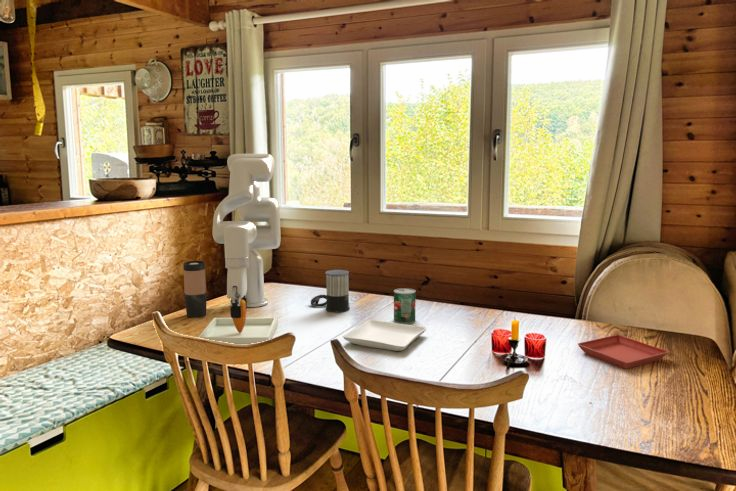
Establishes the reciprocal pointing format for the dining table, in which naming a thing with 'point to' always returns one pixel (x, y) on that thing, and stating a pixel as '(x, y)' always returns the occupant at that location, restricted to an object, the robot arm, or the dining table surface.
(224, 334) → the tray
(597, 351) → the plant saucer
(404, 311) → the canned tomato
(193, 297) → the travel mug
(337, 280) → the milk frother
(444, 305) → the dining table surface
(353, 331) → the salad plate
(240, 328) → the carrot
